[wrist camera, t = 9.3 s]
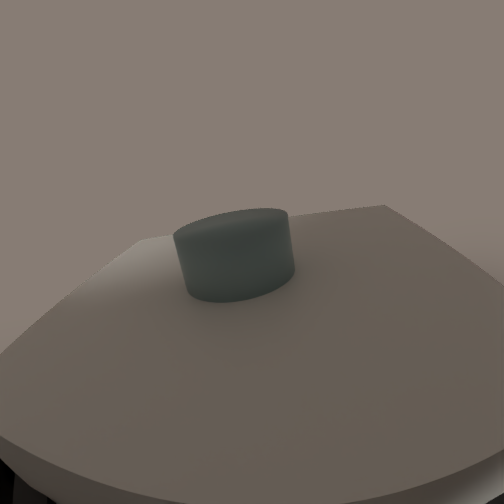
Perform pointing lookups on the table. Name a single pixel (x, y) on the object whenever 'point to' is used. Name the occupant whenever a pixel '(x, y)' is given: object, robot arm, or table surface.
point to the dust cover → (266, 370)
